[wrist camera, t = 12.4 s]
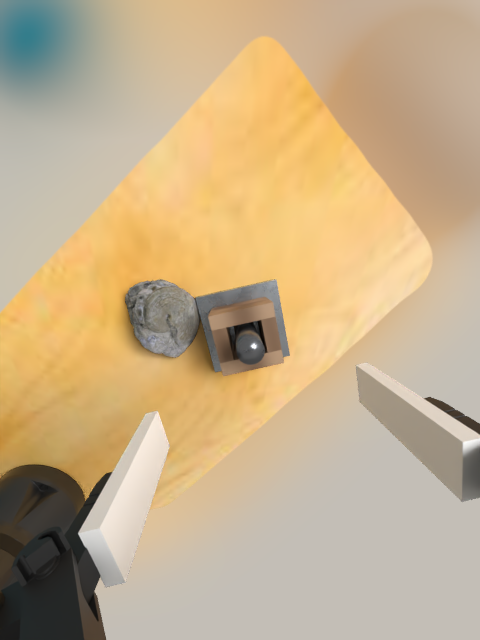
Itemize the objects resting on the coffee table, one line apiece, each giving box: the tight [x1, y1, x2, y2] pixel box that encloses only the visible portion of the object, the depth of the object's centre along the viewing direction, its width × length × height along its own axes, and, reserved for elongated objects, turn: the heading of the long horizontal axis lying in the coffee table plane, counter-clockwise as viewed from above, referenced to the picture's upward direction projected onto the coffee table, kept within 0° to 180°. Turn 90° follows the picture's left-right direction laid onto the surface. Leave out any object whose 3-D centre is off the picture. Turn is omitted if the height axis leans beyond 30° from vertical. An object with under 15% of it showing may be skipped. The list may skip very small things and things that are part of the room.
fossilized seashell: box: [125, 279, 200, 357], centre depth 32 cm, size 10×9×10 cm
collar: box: [208, 297, 284, 376], centre depth 30 cm, size 8×8×6 cm
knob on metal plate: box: [195, 279, 290, 372], centre depth 29 cm, size 12×12×11 cm
